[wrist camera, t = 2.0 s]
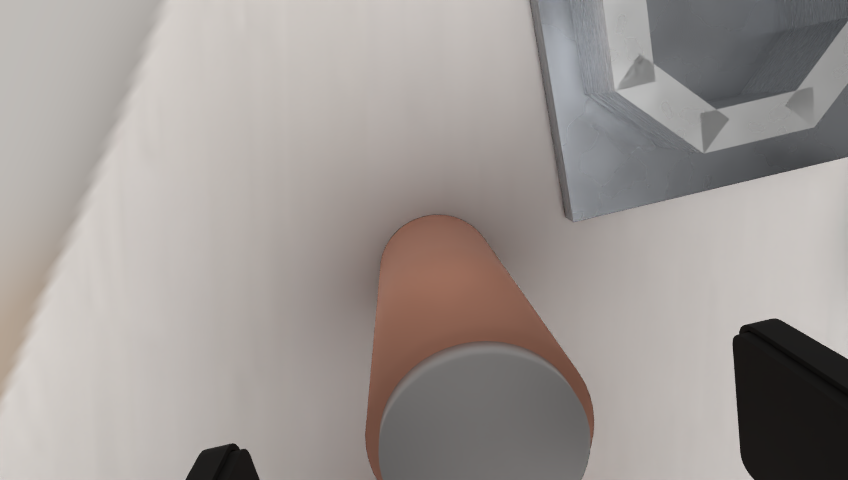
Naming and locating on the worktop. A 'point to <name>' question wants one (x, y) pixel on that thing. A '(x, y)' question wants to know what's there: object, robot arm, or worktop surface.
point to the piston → (467, 368)
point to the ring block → (688, 94)
